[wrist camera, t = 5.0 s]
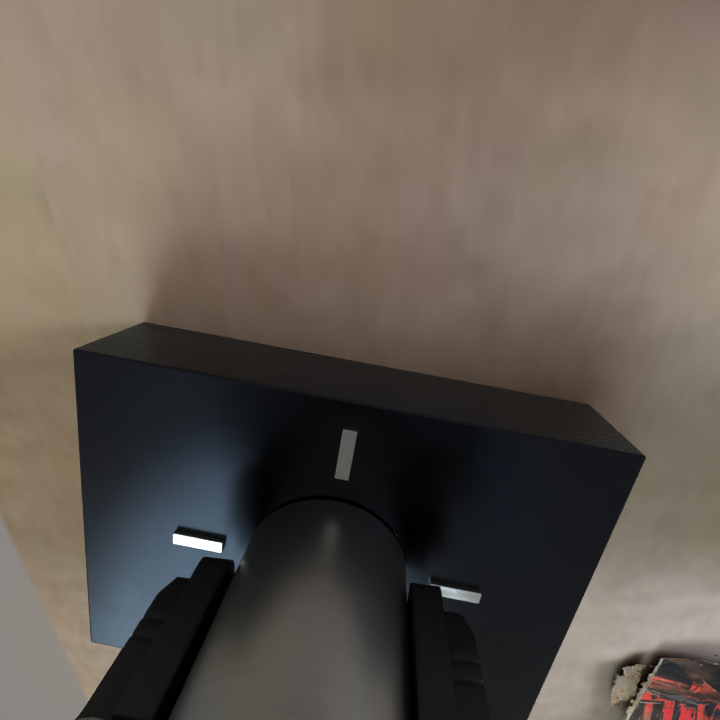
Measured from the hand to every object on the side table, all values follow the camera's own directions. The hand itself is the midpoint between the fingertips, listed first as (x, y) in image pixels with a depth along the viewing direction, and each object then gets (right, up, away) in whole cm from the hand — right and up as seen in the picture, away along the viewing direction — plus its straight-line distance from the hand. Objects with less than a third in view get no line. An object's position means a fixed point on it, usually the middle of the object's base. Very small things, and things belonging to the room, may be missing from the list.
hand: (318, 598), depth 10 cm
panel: (0, +1, +4) cm, 4 cm away
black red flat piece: (+13, -7, +6) cm, 16 cm away
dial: (0, 0, +1) cm, 1 cm away
